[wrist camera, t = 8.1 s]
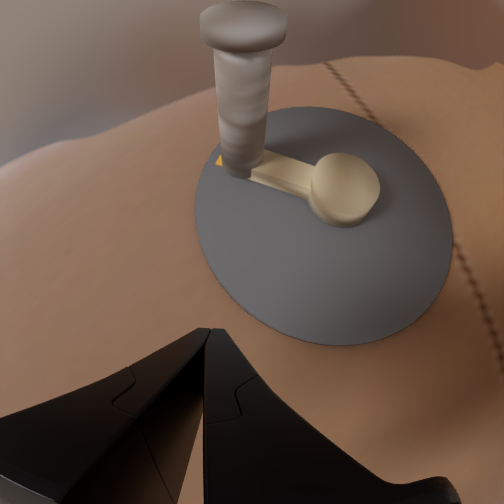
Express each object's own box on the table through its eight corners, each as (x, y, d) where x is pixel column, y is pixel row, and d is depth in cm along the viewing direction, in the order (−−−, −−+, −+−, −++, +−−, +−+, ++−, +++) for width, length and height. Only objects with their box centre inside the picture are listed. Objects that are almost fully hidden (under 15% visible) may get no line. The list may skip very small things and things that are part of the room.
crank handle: (372, 186, 24) (443, 59, 12) (361, 237, 23) (451, 109, 10) (229, 136, 26) (225, -5, 14) (203, 180, 24) (180, 29, 12)
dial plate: (484, 257, 23) (489, 255, 23) (285, 405, 19) (287, 406, 18) (353, 92, 30) (354, 87, 30) (157, 159, 26) (155, 154, 25)
